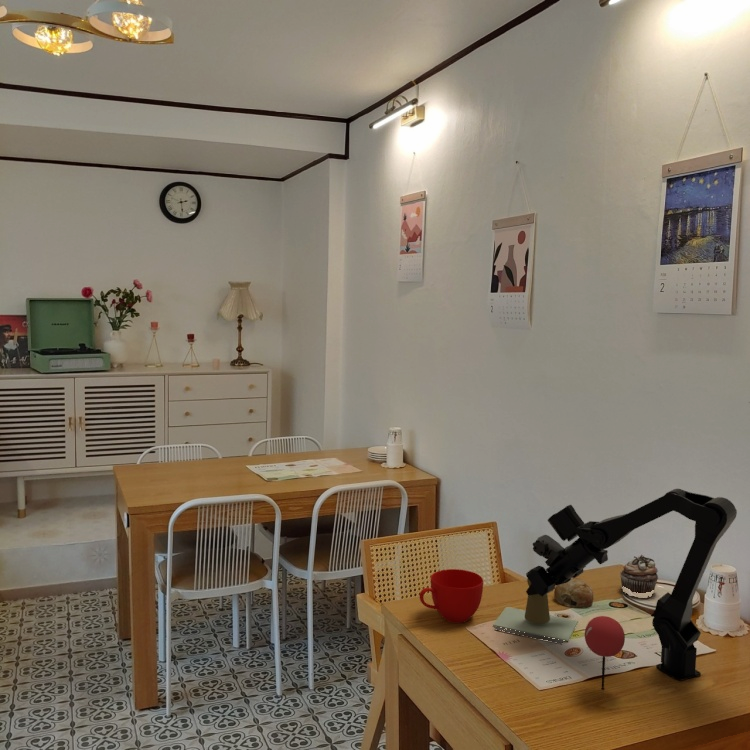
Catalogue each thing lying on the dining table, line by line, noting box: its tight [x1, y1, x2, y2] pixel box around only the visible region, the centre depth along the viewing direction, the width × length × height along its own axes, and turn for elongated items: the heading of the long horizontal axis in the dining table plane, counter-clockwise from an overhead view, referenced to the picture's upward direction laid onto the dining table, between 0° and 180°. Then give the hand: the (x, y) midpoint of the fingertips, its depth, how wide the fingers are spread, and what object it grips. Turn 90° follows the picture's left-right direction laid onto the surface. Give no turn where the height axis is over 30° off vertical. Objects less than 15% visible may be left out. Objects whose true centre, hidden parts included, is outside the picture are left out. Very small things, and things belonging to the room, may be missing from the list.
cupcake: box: [619, 554, 659, 593], centre depth 203 cm, size 10×10×10 cm
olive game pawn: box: [525, 578, 551, 623], centre depth 181 cm, size 6×6×11 cm
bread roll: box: [553, 577, 594, 608], centre depth 197 cm, size 10×10×8 cm
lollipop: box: [584, 615, 626, 690], centre depth 152 cm, size 8×8×15 cm
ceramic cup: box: [419, 568, 484, 624], centre depth 184 cm, size 13×17×10 cm
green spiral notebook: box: [492, 606, 579, 642], centre depth 182 cm, size 18×12×1 cm, turn 64°
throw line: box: [494, 627, 564, 644], centre depth 176 cm, size 16×2×1 cm, turn 64°
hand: (533, 590), depth 182 cm, fingers closed on olive game pawn, 5 cm apart
